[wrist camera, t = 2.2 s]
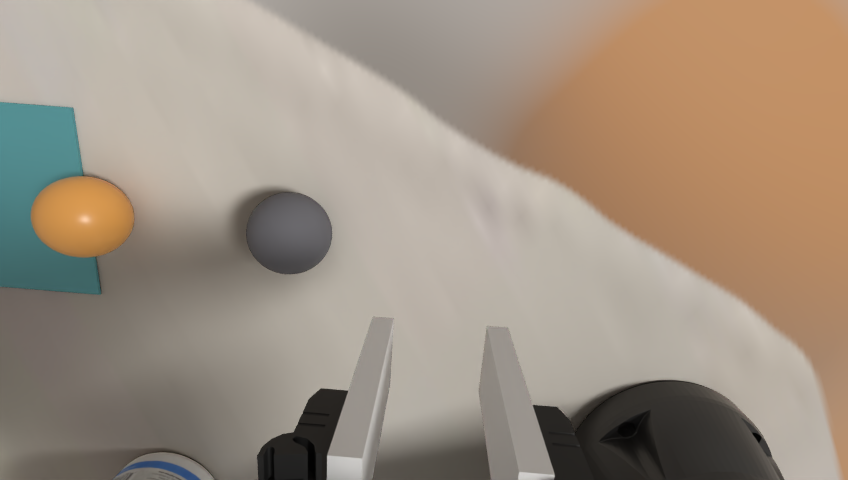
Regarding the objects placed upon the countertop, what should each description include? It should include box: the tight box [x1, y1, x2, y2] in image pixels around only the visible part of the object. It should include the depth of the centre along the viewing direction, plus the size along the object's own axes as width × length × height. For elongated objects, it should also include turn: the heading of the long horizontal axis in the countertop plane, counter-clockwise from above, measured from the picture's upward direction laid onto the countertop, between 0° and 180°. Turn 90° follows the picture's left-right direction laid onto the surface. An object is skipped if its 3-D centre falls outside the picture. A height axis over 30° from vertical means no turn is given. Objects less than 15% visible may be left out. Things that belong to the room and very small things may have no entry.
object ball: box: [31, 176, 134, 258], centre depth 29 cm, size 6×6×6 cm
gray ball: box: [246, 192, 332, 274], centre depth 29 cm, size 6×6×6 cm
